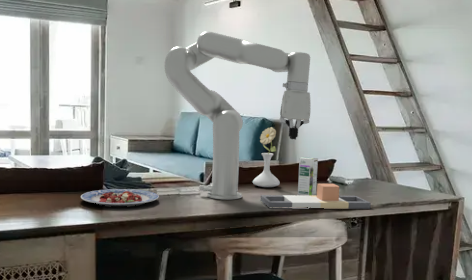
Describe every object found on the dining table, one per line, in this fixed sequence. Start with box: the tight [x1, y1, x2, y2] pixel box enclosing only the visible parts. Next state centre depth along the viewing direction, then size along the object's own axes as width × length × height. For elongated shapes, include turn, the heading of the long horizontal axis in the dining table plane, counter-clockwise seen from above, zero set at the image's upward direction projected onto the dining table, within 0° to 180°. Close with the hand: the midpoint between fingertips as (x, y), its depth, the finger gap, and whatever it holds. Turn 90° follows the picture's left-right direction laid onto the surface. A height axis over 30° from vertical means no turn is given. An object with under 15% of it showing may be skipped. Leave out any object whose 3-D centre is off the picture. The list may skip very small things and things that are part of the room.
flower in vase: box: [252, 126, 280, 188], centre depth 218 cm, size 13×11×25 cm
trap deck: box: [260, 194, 372, 210], centre depth 185 cm, size 36×13×2 cm, turn 100°
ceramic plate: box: [80, 188, 160, 207], centre depth 178 cm, size 26×26×3 cm
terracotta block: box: [316, 183, 340, 201], centre depth 186 cm, size 6×6×5 cm
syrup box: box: [297, 156, 319, 195], centre depth 204 cm, size 6×6×14 cm
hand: (292, 138), depth 189 cm, fingers closed
